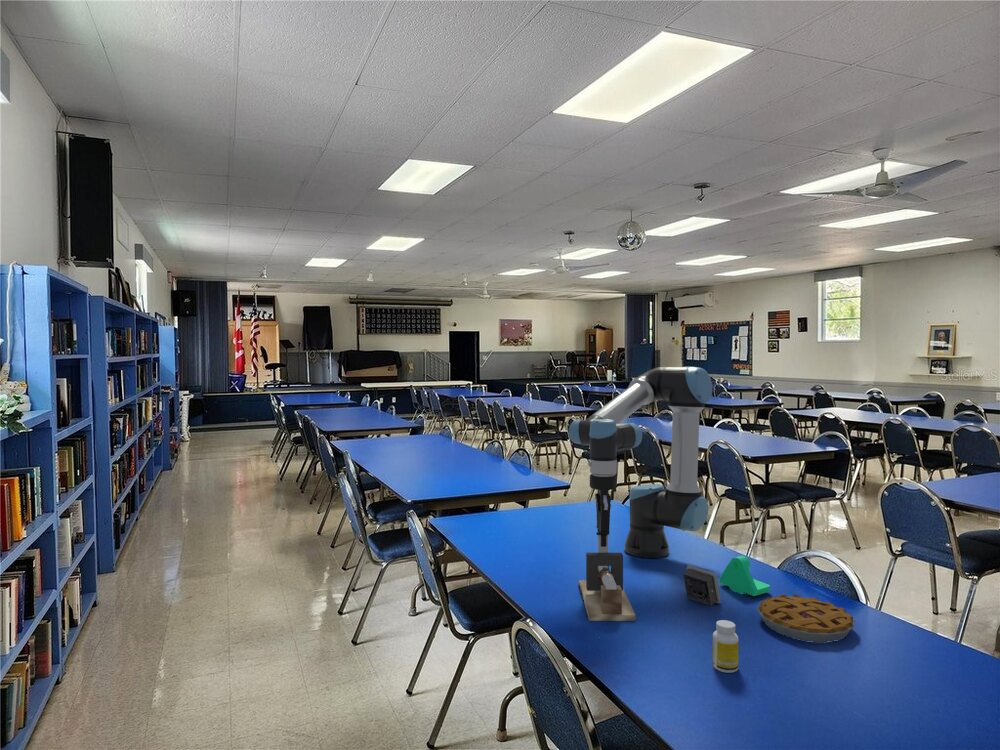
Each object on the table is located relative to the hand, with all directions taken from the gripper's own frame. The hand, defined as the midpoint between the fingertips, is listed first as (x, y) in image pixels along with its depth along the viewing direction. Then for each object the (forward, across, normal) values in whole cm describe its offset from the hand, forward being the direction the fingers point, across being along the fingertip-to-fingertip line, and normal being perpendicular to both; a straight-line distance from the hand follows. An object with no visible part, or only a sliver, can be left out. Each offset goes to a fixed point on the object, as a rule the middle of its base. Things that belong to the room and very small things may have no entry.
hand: (602, 556), depth 178 cm
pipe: (+5, +3, 0) cm, 6 cm away
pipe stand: (+12, +3, 0) cm, 12 cm away
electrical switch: (+12, +3, +27) cm, 30 cm away
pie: (+12, +19, +48) cm, 53 cm away
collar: (+9, +2, 0) cm, 9 cm away
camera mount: (+12, -6, +42) cm, 44 cm away
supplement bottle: (+12, +40, +22) cm, 47 cm away
